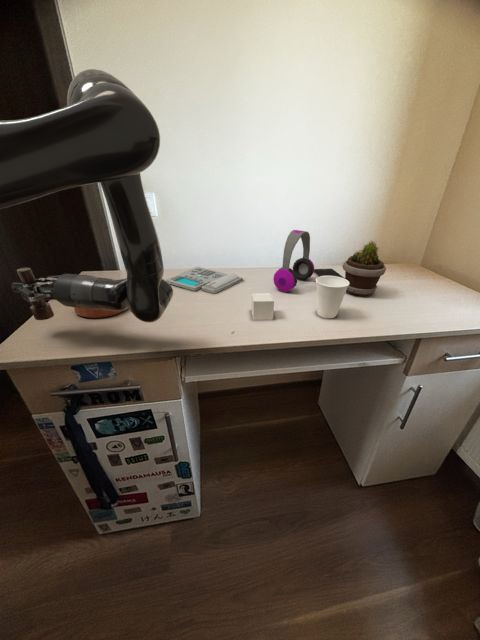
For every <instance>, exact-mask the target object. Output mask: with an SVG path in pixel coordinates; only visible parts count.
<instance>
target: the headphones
mask: <svg viewBox="0 0 480 640" xmlns="http://www.w3.org/2000/svg"><path fill="white" fill-rule="evenodd" d="M285 240H286V241H285V244H284V249H283V254H282V255H283V257H282V266H281V267H280V268H279V269H278V270H276V272H275V273H274V274H273V278H272V279H273V280H272V281H273V284H274V286H275V288H276V289H277V290H278V291H280V292H283V293H284V292H285V293H287V292H290V291H292V290H294V289H295V287H296V286H297V284H298V280H299V281H306V280H308V279H310V278H311V277H313V275H314V273H315V272H314V269H315V265H314V262H313V261H312V260H311V259H310V251H311V234H310V232H309V231H305V230H299V229H293V230H291V231H290V232H289V234H288V236H287V238H286V239H285ZM299 240H301V244H302V249H303V250H302V257H300V258H297V259H296V260H295V261H294V263H293V265H292V268H290V265H291V259H292V255H293V252H294V249H295V247H296V245H297V243H299Z"/></svg>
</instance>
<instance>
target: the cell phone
mask: <svg viewBox="0 0 480 640" xmlns="http://www.w3.org/2000/svg"><path fill="white" fill-rule="evenodd" d="M313 273H315V274H316V275H318V277H320V276H337V277H341V278H344V279H345V276H343V275H341V274H340V273H339V272H337V271H336V270H334V269H333V268H314V272H313Z"/></svg>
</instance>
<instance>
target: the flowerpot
mask: <svg viewBox="0 0 480 640" xmlns="http://www.w3.org/2000/svg"><path fill="white" fill-rule="evenodd" d="M369 240H370V241H368V243H367V244H364V246H363V248H361V249H360V248H359V249H358V250H359V251H357V250H356V251H355V252H354V253H353V255H351V256H349V257H348V258H347V260H345V261H344V262H343V264H342V265H341V267H342V270H343V271H345V272H344V278H345V279H346V280H348V281H349V283H350V284H349V286H348V287H347V290H346V292H345V293H347V294H350V295H352V296H356V297H359V296H360V297H362V298H363V297H364V298H365V297H370V296H372V295H373V294H374V293H375V292H376V290H377V288H378V286H377V284H378V282H379V280H380V278H381V277H382V276H384V275H385V273H386V271H387V267H386V265H385V263H384V262H383V261H382V260H381V259H379V250H380V248H379V247H378V246H377V245H378V243H377V242H376V240H372V239H369Z"/></svg>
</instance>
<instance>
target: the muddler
mask: <svg viewBox="0 0 480 640" xmlns="http://www.w3.org/2000/svg"><path fill="white" fill-rule="evenodd" d="M16 272H17V274H18V277H19V279H20V282H21V283H24V284H34V283H36V280H35V279H36V277H35V275H34V273H33V270H32V269H31V267H21V268H18V269H16ZM32 291H34V289H33V288H32ZM29 309H30V311H31V313H32V315H33V317H34V319H35V320H36V321H46V320H49V319H52V318H53V317H54V316H55V313H54V311H53V309H52V306H51V304H50V303H49V302H46V300H45V299H40V300H39V301H38V304H36V305H32V304H31V306H29Z"/></svg>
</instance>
